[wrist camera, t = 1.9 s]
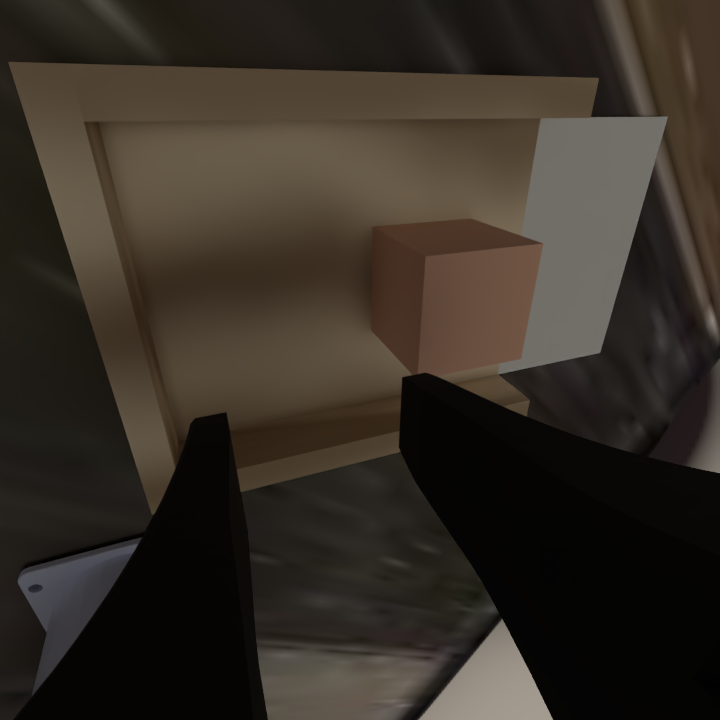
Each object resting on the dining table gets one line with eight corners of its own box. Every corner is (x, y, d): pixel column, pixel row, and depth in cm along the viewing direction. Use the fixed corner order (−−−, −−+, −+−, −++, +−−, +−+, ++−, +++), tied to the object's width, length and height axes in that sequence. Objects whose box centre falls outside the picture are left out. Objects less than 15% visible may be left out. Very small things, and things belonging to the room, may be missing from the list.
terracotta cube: (460, 316, 21) (521, 358, 17) (371, 330, 20) (417, 380, 16) (470, 218, 19) (543, 243, 15) (372, 226, 18) (425, 256, 14)
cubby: (490, 389, 25) (525, 420, 22) (154, 463, 20) (151, 514, 17) (539, 83, 18) (599, 78, 15) (40, 72, 13) (8, 62, 10)
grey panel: (594, 349, 26) (600, 352, 26) (493, 370, 24) (497, 374, 24) (659, 116, 21) (667, 116, 20) (534, 117, 18) (540, 117, 18)
